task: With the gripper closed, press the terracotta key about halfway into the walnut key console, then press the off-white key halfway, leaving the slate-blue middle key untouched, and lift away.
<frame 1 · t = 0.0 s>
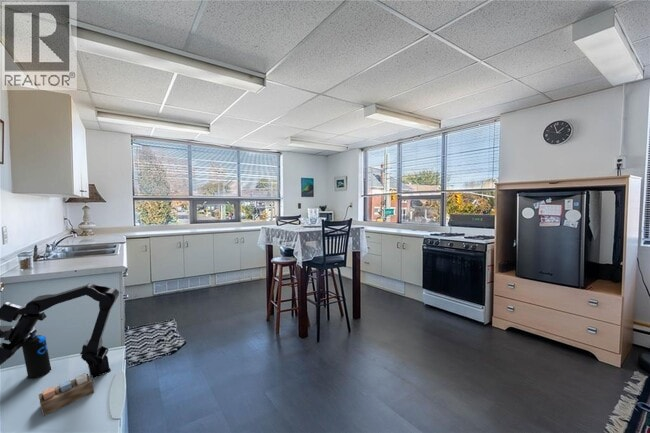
hand: (4, 359, 121), 15 cm above the counter, tool tilted 35°, fingers open, 9 cm apart
key terracotta: (49, 395, 114), point 5 cm above the counter, slide at 0.0 cm
key console: (68, 399, 118), on the counter
key cream: (81, 380, 121), point 5 cm above the counter, slide at 0.0 cm
aerosol can: (39, 373, 135), on the counter
key blue: (66, 387, 118), point 5 cm above the counter, slide at 0.0 cm
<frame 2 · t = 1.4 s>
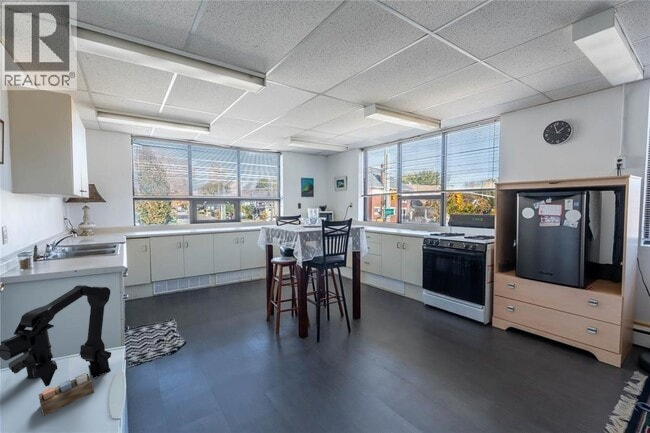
hand: (46, 381, 113), 11 cm above the counter, tool pointing down, fingers open, 8 cm apart
nothing on the counter moved.
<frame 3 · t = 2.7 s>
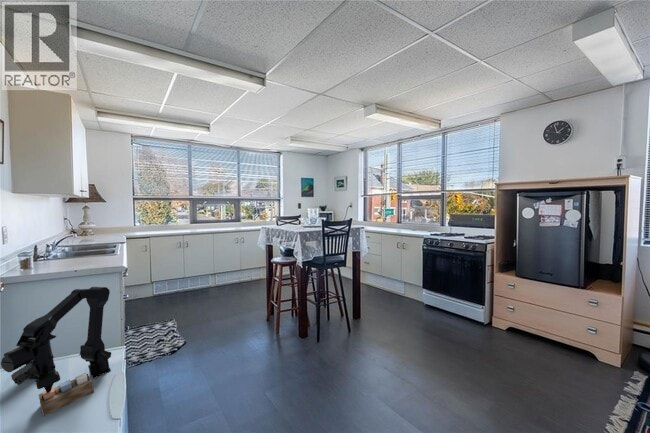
hand: (48, 391, 114), 7 cm above the counter, tool pointing down, fingers closed, pressing on key terracotta
key terracotta: (49, 396, 114), point 5 cm above the counter, slide at 0.4 cm, touching gripper
everything else where it was.
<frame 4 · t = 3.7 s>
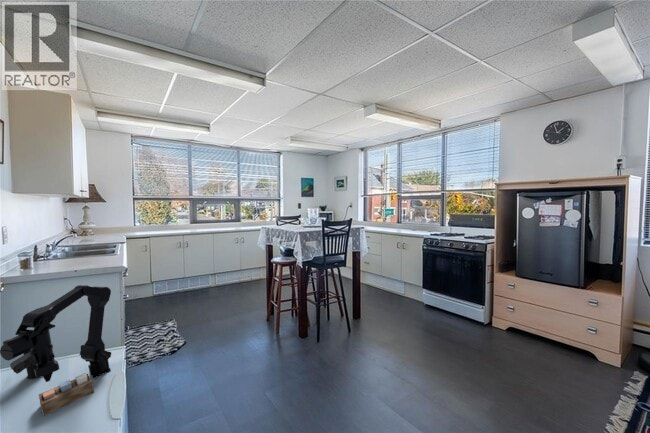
hand: (47, 381, 113), 11 cm above the counter, tool pointing down, fingers closed
key terracotta: (49, 397, 114), point 4 cm above the counter, slide at 0.9 cm
everything else where it was.
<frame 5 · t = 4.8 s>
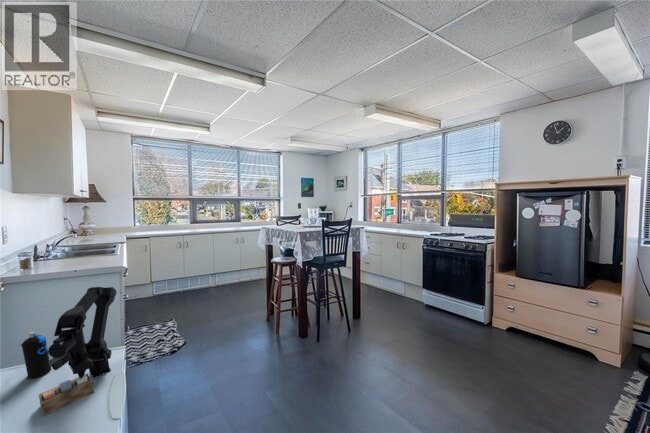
hand: (81, 377, 121), 7 cm above the counter, tool pointing down, fingers closed, pressing on key cream
key cream: (82, 381, 121), point 5 cm above the counter, slide at 0.5 cm, touching gripper
everything else where it was.
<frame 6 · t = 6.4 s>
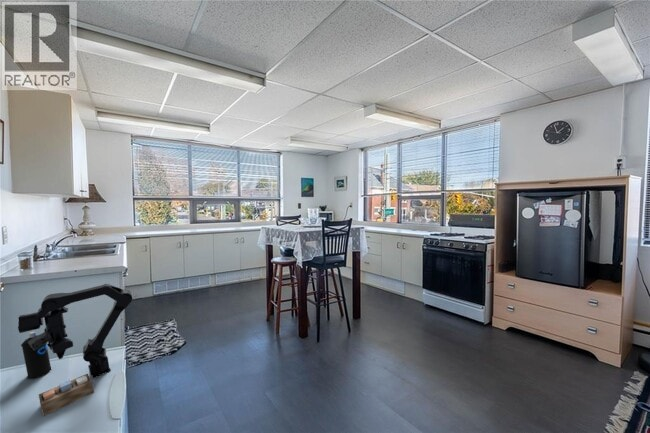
hand: (60, 358, 125), 12 cm above the counter, tool pointing down, fingers closed
key cream: (82, 382, 122), point 4 cm above the counter, slide at 1.0 cm
everything else where it was.
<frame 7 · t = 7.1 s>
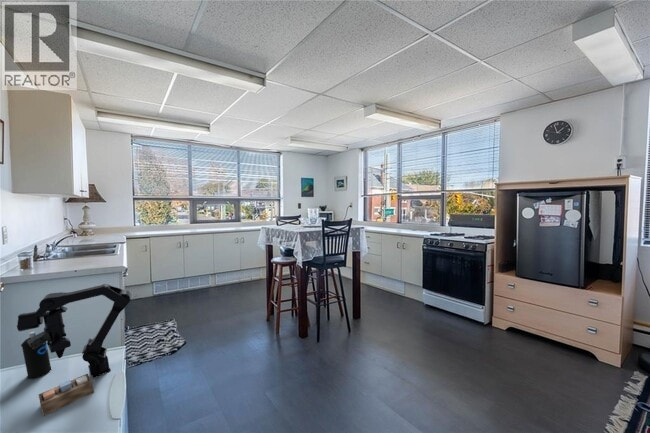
hand: (60, 357, 126), 12 cm above the counter, tool pointing down, fingers closed
nothing on the counter moved.
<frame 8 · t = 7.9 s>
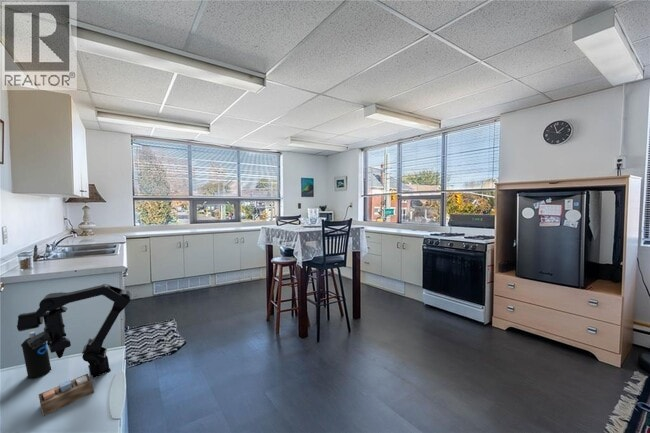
hand: (60, 357, 126), 12 cm above the counter, tool pointing down, fingers closed
nothing on the counter moved.
at the end: key terracotta slide at 0.9 cm; key cream slide at 1.0 cm; key blue slide at 0.0 cm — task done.
